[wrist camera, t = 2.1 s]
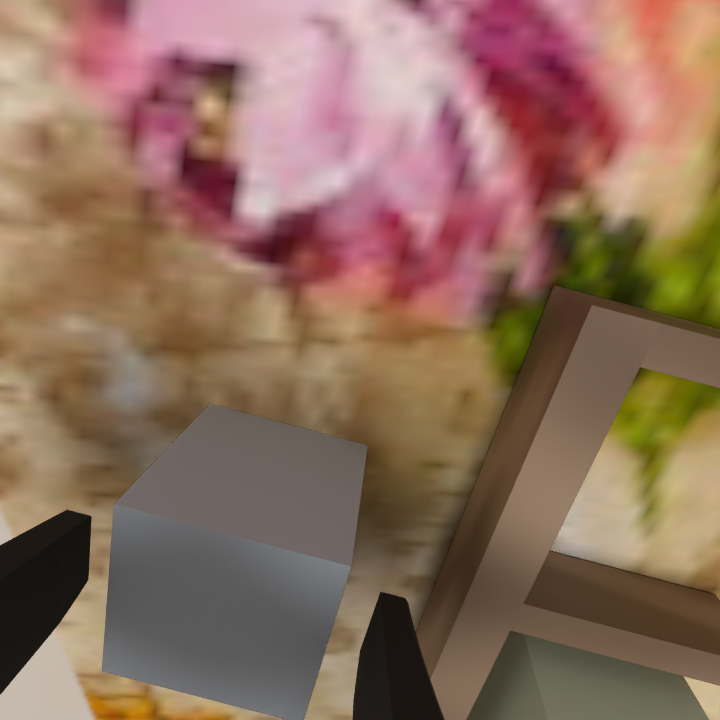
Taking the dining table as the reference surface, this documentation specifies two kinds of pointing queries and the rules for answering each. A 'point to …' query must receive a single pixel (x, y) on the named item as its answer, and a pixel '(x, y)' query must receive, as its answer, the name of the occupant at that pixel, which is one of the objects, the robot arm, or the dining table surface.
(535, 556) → the comb rack
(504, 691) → the sage block
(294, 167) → the dining table surface
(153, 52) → the dining table surface
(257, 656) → the slate block
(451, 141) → the dining table surface
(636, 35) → the dining table surface
